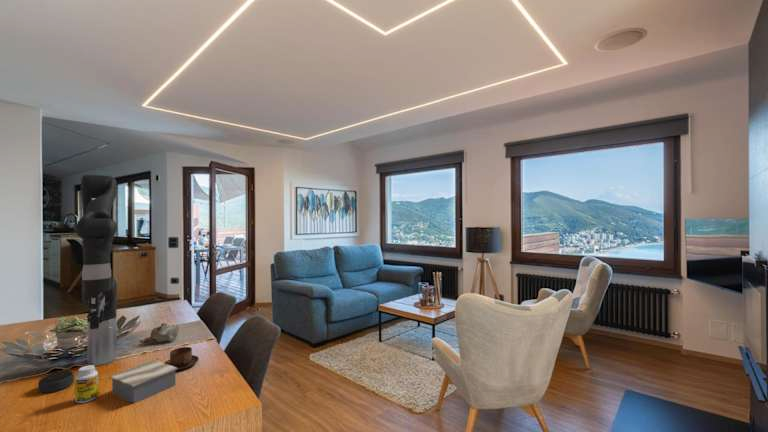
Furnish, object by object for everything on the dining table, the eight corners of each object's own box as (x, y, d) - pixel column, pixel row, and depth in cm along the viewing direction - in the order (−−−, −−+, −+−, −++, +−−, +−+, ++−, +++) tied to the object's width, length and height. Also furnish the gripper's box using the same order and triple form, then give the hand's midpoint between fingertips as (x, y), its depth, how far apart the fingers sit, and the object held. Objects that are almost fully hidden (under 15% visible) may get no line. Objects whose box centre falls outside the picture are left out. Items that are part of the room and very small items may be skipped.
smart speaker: (78, 385, 120) (78, 374, 120) (43, 397, 113) (43, 384, 113) (68, 379, 125) (68, 368, 125) (34, 390, 117) (34, 378, 117)
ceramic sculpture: (172, 325, 157) (137, 329, 156) (174, 344, 157) (138, 348, 156) (183, 318, 168) (150, 322, 166) (184, 336, 168) (151, 340, 166)
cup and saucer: (205, 362, 138) (205, 347, 138) (176, 375, 127) (176, 359, 127) (185, 357, 143) (185, 343, 143) (156, 369, 132) (155, 353, 132)
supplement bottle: (73, 405, 107) (73, 373, 107) (77, 398, 112) (76, 366, 112) (96, 400, 110) (96, 368, 110) (99, 393, 115) (99, 362, 115)
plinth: (109, 394, 114) (109, 376, 114) (154, 376, 126) (154, 360, 126) (133, 404, 107) (132, 385, 107) (177, 384, 120) (177, 367, 120)
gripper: (108, 278, 112) (108, 328, 112) (113, 274, 124) (113, 319, 124) (77, 281, 108) (77, 333, 108) (86, 276, 120) (86, 322, 120)
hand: (96, 325), depth 116 cm, fingers open, 8 cm apart
